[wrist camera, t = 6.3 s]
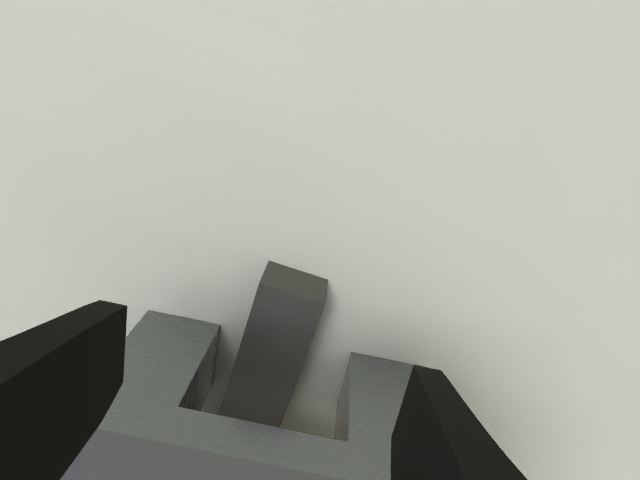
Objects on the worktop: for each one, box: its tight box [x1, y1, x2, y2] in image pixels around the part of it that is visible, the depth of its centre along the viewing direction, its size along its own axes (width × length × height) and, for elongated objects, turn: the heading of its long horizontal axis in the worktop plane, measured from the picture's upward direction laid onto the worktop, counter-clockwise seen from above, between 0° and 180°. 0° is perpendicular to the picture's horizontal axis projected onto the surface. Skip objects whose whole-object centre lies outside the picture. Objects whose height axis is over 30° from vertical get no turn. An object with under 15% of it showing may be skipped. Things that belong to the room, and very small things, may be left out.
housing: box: [60, 310, 413, 480], centre depth 18 cm, size 3×12×6 cm, turn 79°
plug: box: [219, 261, 328, 427], centre depth 20 cm, size 14×4×4 cm, turn 162°
